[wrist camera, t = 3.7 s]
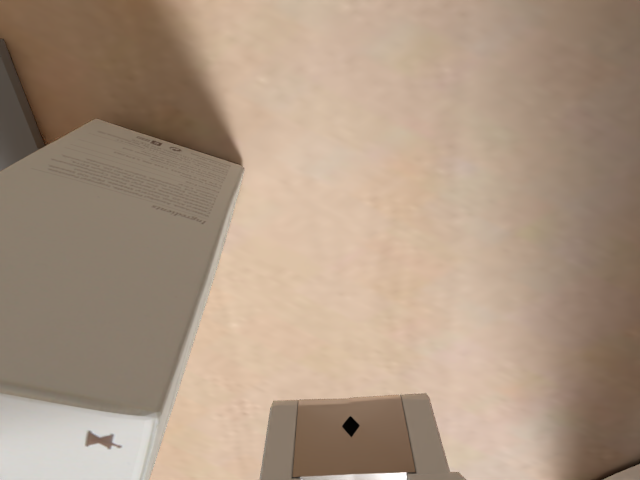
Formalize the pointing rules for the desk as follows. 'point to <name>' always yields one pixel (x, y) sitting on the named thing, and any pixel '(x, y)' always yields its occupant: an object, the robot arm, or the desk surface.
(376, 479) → the robot arm
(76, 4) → the desk surface
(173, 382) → the small box
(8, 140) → the mat
